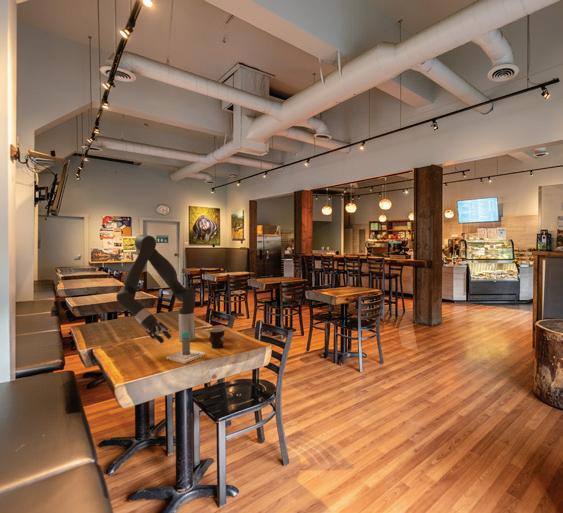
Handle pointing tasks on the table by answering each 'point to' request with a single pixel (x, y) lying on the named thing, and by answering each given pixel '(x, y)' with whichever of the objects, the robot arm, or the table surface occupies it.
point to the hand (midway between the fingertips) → (166, 339)
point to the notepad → (185, 356)
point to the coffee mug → (217, 338)
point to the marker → (185, 342)
